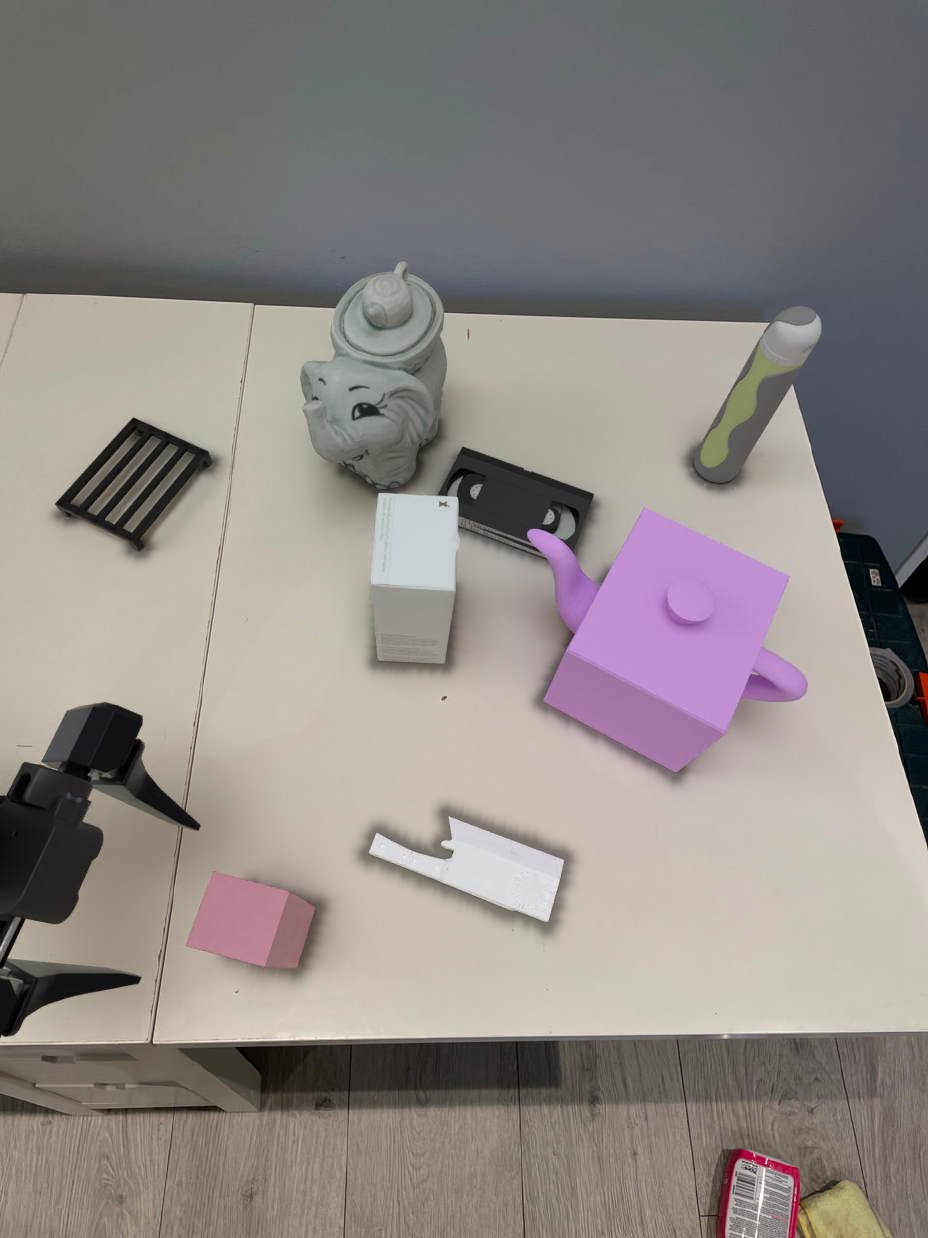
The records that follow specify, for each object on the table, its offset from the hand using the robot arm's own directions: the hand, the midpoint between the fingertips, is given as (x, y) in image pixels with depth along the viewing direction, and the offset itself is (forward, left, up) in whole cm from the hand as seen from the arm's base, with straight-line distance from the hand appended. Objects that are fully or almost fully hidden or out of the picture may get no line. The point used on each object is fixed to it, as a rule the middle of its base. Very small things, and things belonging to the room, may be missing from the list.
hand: (169, 900), depth 47 cm
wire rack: (-33, +24, -11) cm, 43 cm away
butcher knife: (+13, +15, -11) cm, 23 cm away
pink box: (+5, +2, -11) cm, 12 cm away
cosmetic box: (-2, +29, -12) cm, 31 cm away
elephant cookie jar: (-17, +42, -12) cm, 47 cm away
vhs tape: (-2, +45, -12) cm, 46 cm away
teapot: (+16, +38, -12) cm, 43 cm away
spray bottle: (+12, +63, -12) cm, 65 cm away
